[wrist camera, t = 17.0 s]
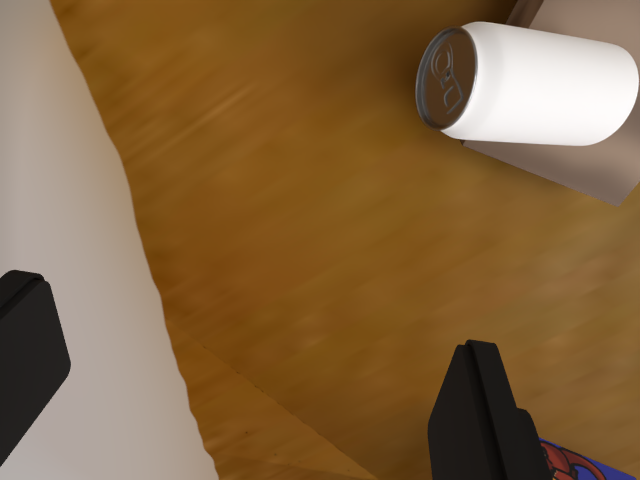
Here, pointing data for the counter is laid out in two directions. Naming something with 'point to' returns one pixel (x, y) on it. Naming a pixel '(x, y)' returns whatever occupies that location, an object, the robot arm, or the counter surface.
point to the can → (524, 85)
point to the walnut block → (590, 160)
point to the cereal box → (577, 465)
